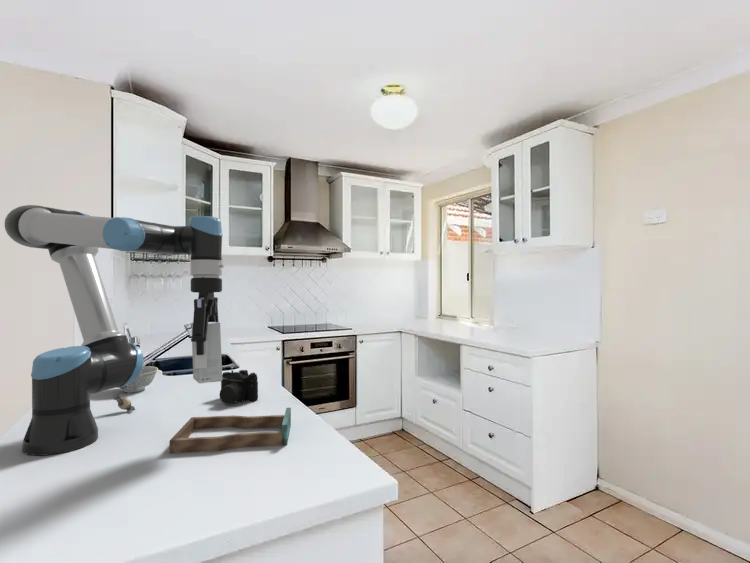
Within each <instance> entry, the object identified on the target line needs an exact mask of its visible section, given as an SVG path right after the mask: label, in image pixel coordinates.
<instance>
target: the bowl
mask: <svg viewBox="0 0 750 563" xmlns="http://www.w3.org/2000/svg"><path fill="white" fill-rule="evenodd" d="M158 370H159V368H158V367H157V366H151V365H150V366H148V365H147V366H146V365H143V368H142V370H141V373H140V375H139V376H138V378H137V379H136V380H135V381H133V382H131V383H129V384H126V385H124V386H122V387H119V388H118V389H121V390H122V392H124V393H137V392H142V391H144V390H145V389H146V387H148V386H150V384H152V382H153V381H154V379H155V377H156V374H157V372H158Z"/></svg>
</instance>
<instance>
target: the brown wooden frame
mask: <svg viewBox="0 0 750 563" xmlns="http://www.w3.org/2000/svg"><path fill="white" fill-rule="evenodd" d="M291 409H292V407H286V408H285V413H284V414H277V415H251V416H245V415H244V416H243V415H215V416H212V415H211V416H194V417H193V416H192V417H190V418H189V420H187V422H185V424H183V425H182V427H181V428H179V430H178V431H177V432H176V433H175V434H174V435H173V437H171V438H170V440H169V454H185V453H187V454H188V453H201V452H203V453H204V452H205V453H206V452H218V451H219V452H220V451H225V450H230V449H236V448H248V447H249V448H252V447H253V448H254V447H269V446H270V447H271V446H272V447H273V446H287V445H288V443H289V436H290V431H291V427H292V426H291V425H292V410H291ZM231 428H232V429H243V430H245V429H246V430H247V429H248V430H250V429H251V430H253V429H254V430H255V429H270V428H275V429H277V428H281V430H279V431H277V430H276V431H262V432H261V431H260V432H258V431H257V432H239V433H232V434H226V435H221V436H202V437H201V436H200V437H199V436H197V437H190V436H191V435H192V433H194V431H195V430H210V429H211V430H212V429H231Z"/></svg>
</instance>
